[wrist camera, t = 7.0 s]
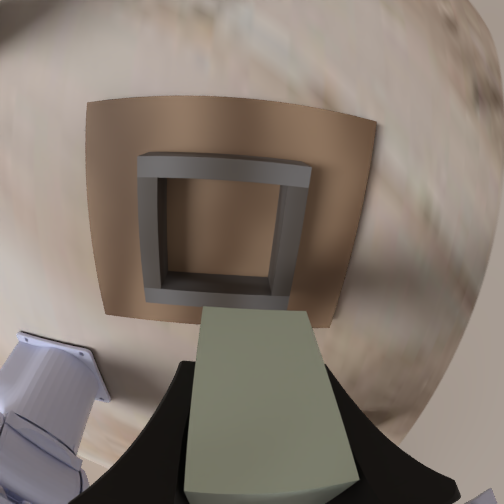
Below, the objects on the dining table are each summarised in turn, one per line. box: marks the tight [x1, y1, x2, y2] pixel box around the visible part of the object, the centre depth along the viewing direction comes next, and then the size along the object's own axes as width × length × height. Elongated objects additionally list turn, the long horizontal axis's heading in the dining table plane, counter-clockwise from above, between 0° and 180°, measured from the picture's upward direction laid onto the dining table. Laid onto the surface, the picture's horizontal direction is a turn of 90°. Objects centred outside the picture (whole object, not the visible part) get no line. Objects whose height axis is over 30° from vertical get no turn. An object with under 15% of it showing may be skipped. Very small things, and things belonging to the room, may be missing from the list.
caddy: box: [85, 96, 377, 328], centre depth 15 cm, size 16×14×3 cm
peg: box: [184, 306, 360, 504], centre depth 8 cm, size 4×4×7 cm
